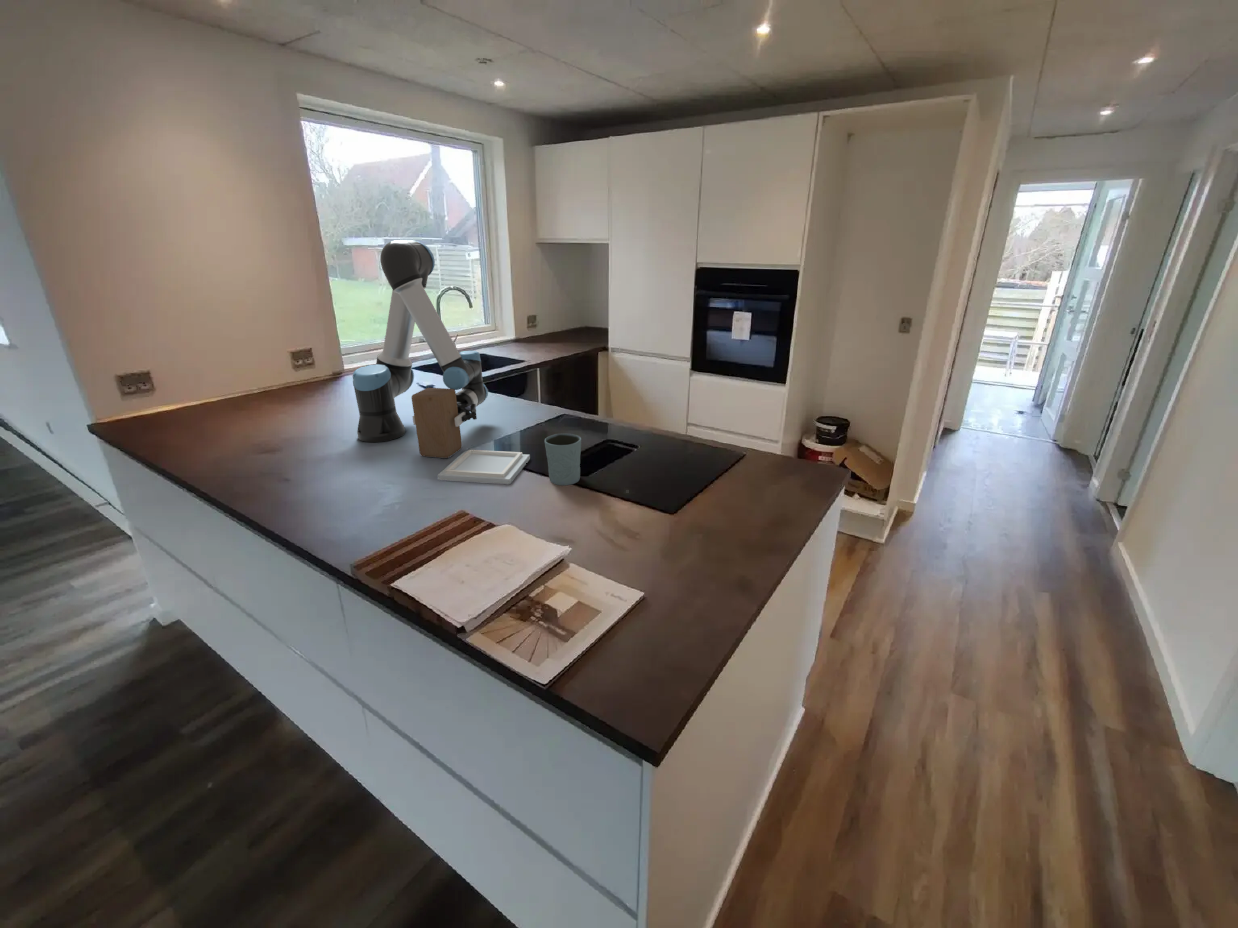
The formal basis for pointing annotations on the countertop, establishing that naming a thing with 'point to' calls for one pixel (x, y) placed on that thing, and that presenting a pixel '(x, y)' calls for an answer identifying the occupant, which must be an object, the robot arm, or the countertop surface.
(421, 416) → the wooden block
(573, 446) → the teal cup
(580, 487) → the countertop surface
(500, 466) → the baseplate
